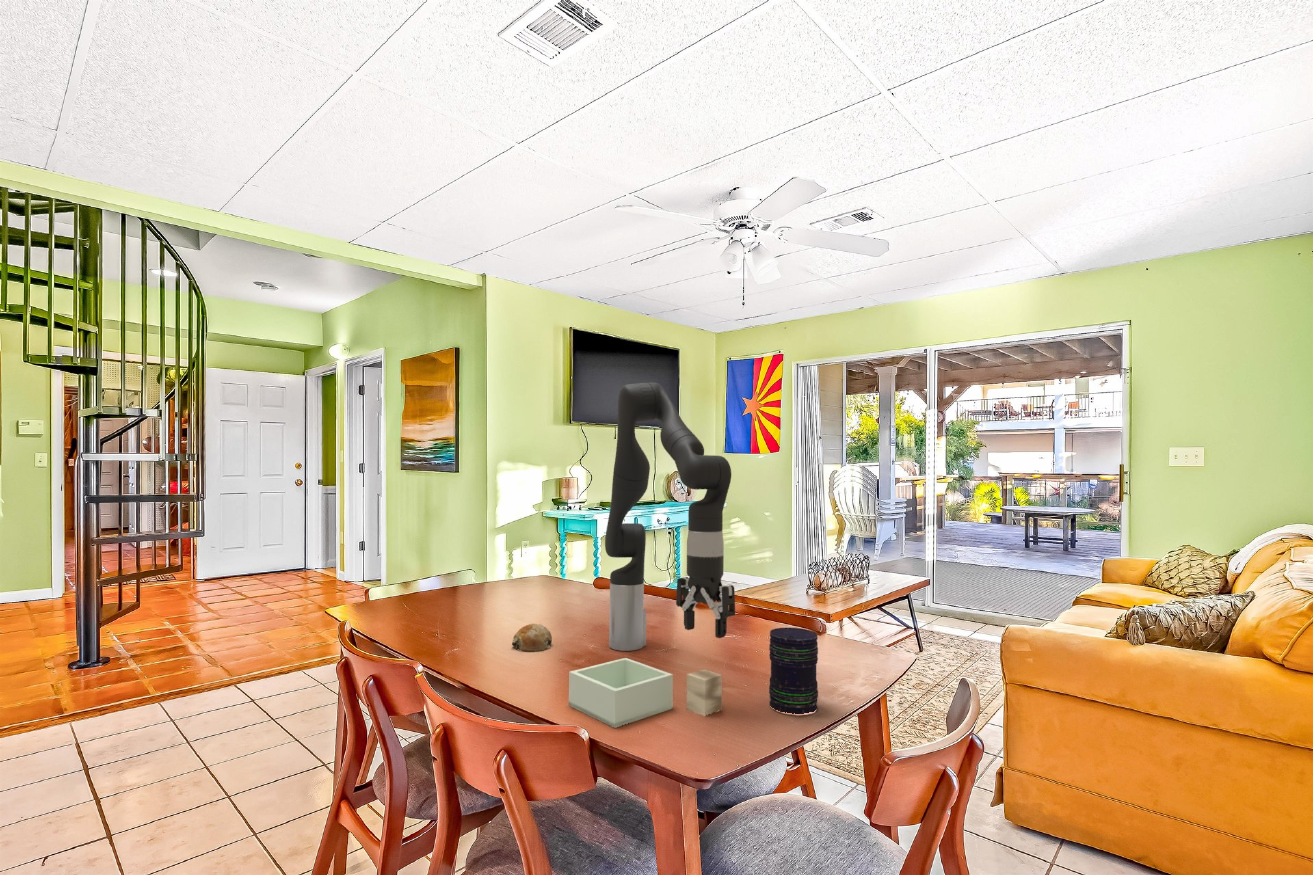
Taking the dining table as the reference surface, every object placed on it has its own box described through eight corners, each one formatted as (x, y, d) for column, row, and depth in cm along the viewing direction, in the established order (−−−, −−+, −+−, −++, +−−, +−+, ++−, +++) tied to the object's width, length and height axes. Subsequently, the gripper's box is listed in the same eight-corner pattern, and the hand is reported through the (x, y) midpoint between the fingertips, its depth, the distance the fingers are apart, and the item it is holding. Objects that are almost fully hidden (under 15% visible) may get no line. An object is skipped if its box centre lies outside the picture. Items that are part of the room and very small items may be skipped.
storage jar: (774, 695, 139) (775, 625, 140) (821, 702, 136) (821, 630, 136) (764, 711, 130) (764, 636, 131) (813, 719, 126) (813, 642, 127)
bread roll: (540, 666, 169) (553, 638, 169) (505, 648, 170) (518, 621, 170) (547, 655, 179) (560, 629, 179) (514, 638, 179) (527, 612, 180)
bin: (625, 689, 142) (625, 657, 143) (672, 708, 131) (672, 674, 132) (568, 705, 132) (569, 671, 132) (614, 728, 121) (615, 691, 121)
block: (703, 703, 134) (703, 669, 135) (721, 710, 131) (721, 675, 131) (686, 709, 131) (686, 674, 131) (704, 716, 127) (704, 680, 128)
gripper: (744, 555, 130) (743, 637, 129) (693, 548, 140) (692, 623, 139) (718, 558, 125) (718, 643, 124) (667, 550, 135) (667, 629, 134)
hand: (704, 633), depth 132 cm, fingers open, 8 cm apart
